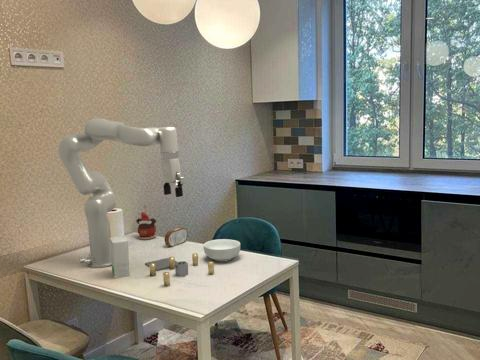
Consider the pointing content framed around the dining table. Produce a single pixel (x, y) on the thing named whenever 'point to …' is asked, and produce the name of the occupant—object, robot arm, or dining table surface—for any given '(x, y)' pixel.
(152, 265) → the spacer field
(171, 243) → the tin
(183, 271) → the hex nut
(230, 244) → the cereal bowl
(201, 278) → the dining table surface
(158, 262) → the mat
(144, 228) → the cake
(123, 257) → the skincare box
